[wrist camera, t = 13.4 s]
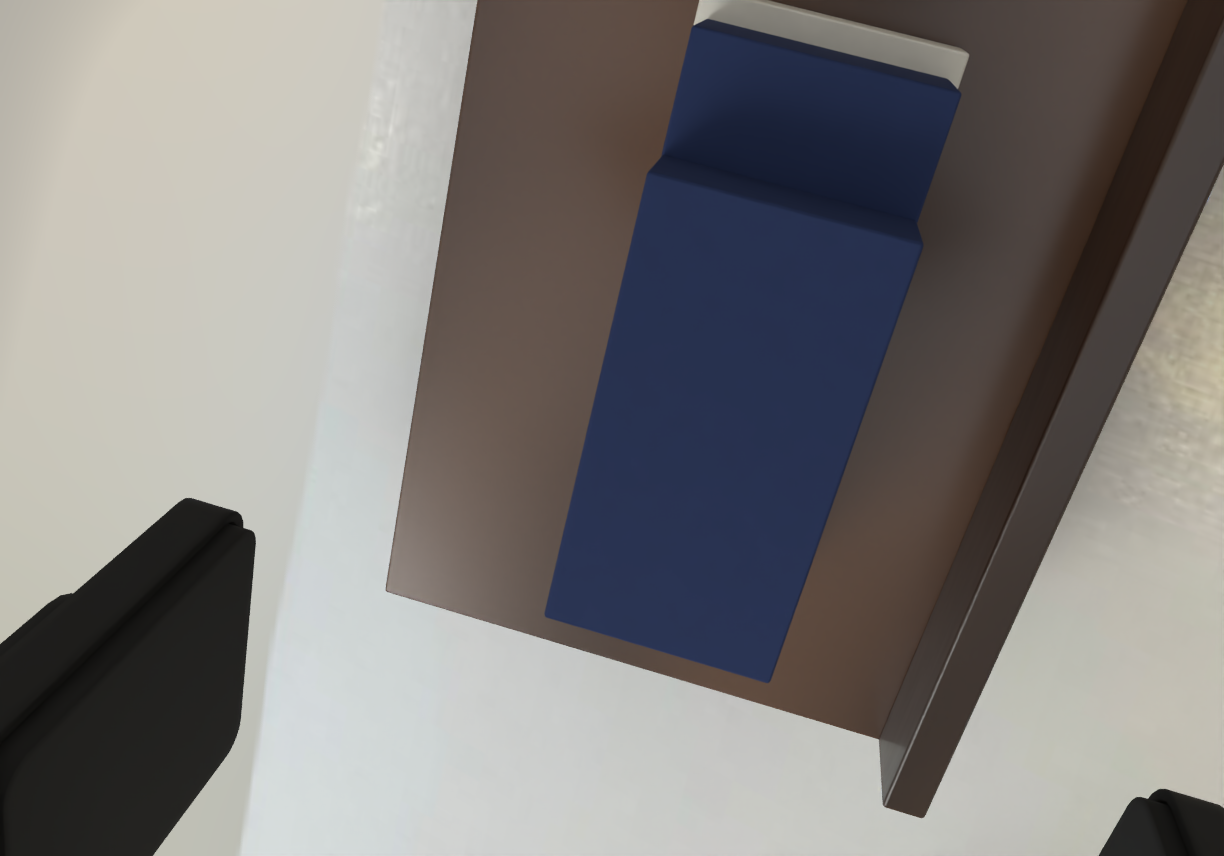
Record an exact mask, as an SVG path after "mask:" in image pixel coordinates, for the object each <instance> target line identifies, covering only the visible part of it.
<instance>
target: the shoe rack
mask: <svg viewBox="0 0 1224 856" xmlns="http://www.w3.org/2000/svg"><path fill="white" fill-rule="evenodd" d="M769 1H773V2H777V3H781V4H785V5H789V6H793V7H797V8H801V9H805V10H809V11H813V12H817V13H821V14H825V15H829V16H833V17H838V18H842V19H846V20H850V21H854V22H858V23H862V24H866V25H870V26H874V27H878V28H882V29H886V30H890V31H894V32H898V33H902V34H906V35H910V36H914V37H918V38H922V39H926V40H930V41H934V42H938V43H942V44H946V45H950V46H954V47H958V48H961V49H963V50H964V51H966V52H967V53H968V54H969V58H968V61H967V64H966V67H965V70H964V73H963V76H962V79H961V82H960V85H959V88H958V90H959V91H960V92H961V98H960V101H959V104H958V107H957V110H956V113H955V116H954V118H953V121H952V124H951V127H950V130H949V133H948V136H947V139H946V142H945V144H944V147H943V150H942V153H941V156H940V159H939V162H938V165H937V168H936V170H935V173H934V176H933V179H932V182H931V185H930V188H929V191H928V194H927V196H926V199H925V202H924V205H923V208H922V211H921V214H920V217H919V220H918V222H917V225H918V228H919V231H920V234H921V238H922V241H923V249H922V252H921V255H920V258H919V261H918V264H917V266H916V269H915V272H914V275H913V278H912V281H911V283H910V286H909V289H908V292H907V295H906V298H905V300H904V303H903V306H902V309H901V312H900V315H899V318H898V320H897V323H896V326H895V329H894V332H893V335H892V337H891V340H890V343H889V346H888V349H887V352H886V354H885V357H884V360H883V363H882V366H881V369H880V372H879V374H878V377H877V380H876V383H875V386H874V389H873V391H872V394H871V397H870V400H869V403H868V406H867V408H866V411H865V414H864V417H863V420H862V423H861V426H860V428H859V431H858V434H857V437H856V440H855V443H854V445H853V448H852V451H851V454H850V457H849V460H848V462H847V465H846V468H845V471H844V474H843V477H842V480H841V482H840V485H839V488H838V491H837V494H836V497H835V499H834V502H833V505H832V508H831V511H830V514H829V516H828V519H827V522H826V525H825V528H824V531H823V533H822V536H821V539H820V542H819V545H818V548H817V551H816V553H815V556H814V559H813V562H812V565H811V568H810V570H809V573H808V576H807V579H806V582H805V585H804V587H803V590H802V593H801V596H800V599H799V602H798V605H797V607H796V610H795V613H794V616H793V619H792V622H791V624H790V627H789V630H788V633H787V636H786V639H785V641H784V644H783V647H782V650H781V653H780V656H779V659H778V661H777V664H776V667H775V670H774V673H773V676H772V678H771V681H770V682H769V683H764V682H761V681H758V680H754V679H751V678H747V677H744V676H741V675H737V674H734V673H731V672H727V671H724V670H721V669H717V668H714V667H711V666H707V665H704V664H700V663H697V662H694V661H690V660H687V659H684V658H680V657H677V656H674V655H670V654H667V653H664V652H660V651H657V650H654V649H650V648H647V647H643V646H640V645H637V644H633V643H630V642H627V641H623V640H620V639H617V638H613V637H610V636H607V635H603V634H600V633H597V632H593V631H590V630H586V629H583V628H580V627H576V626H573V625H570V624H566V623H563V622H560V621H556V620H553V619H550V618H546V617H545V614H544V613H545V609H546V604H547V600H548V596H549V591H550V587H551V583H552V579H553V574H554V570H555V566H556V561H557V557H558V553H559V549H560V544H561V540H562V536H563V531H564V527H565V523H566V519H567V514H568V510H569V506H570V501H571V497H572V493H573V489H574V484H575V480H576V476H577V471H578V467H579V463H580V458H581V454H582V450H583V446H584V441H585V437H586V433H587V428H588V424H589V420H590V416H591V411H592V407H593V403H594V398H595V394H596V390H597V386H598V381H599V377H600V373H601V368H602V364H603V360H604V356H605V351H606V347H607V343H608V338H609V334H610V330H611V326H612V321H613V317H614V313H615V308H616V304H617V300H618V296H619V291H620V287H621V283H622V278H623V274H624V270H625V266H626V261H627V257H628V253H629V248H630V244H631V240H632V235H633V231H634V227H635V223H636V218H637V214H638V210H639V205H640V201H641V197H642V193H643V188H644V184H645V180H646V175H647V173H648V171H649V170H650V169H651V168H652V167H653V166H654V164H655V163H656V162H657V161H658V160H659V159H660V158H661V155H662V150H663V146H664V142H665V138H666V134H667V129H668V125H669V121H670V117H671V112H672V108H673V104H674V100H675V96H676V91H677V87H678V83H679V79H680V75H681V70H682V66H683V62H684V58H685V53H686V49H687V45H688V41H689V37H690V32H691V28H692V26H693V25H694V21H695V17H696V12H697V8H698V4H699V0H477V7H476V13H475V20H474V26H473V32H472V39H471V45H470V52H469V58H468V64H467V71H466V77H465V84H464V90H463V96H462V103H461V109H460V116H459V122H458V129H457V135H456V141H455V148H454V154H453V161H452V167H451V173H450V180H449V186H448V193H447V199H446V205H445V212H444V218H443V225H442V231H441V237H440V244H439V250H438V257H437V263H436V269H435V276H434V282H433V289H432V295H431V301H430V308H429V314H428V321H427V327H426V333H425V340H424V346H423V353H422V359H421V365H420V372H419V378H418V385H417V391H416V397H415V404H414V410H413V417H412V423H411V429H410V436H409V442H408V449H407V455H406V461H405V468H404V474H403V481H402V487H401V493H400V500H399V506H398V513H397V519H396V525H395V532H394V538H393V545H392V551H391V558H390V564H389V570H388V577H387V583H386V591H387V592H390V593H393V594H396V595H400V596H403V597H406V598H410V599H413V600H416V601H420V602H423V603H426V604H430V605H433V606H436V607H440V608H443V609H446V610H450V611H453V612H456V613H460V614H463V615H466V616H470V617H473V618H476V619H480V620H483V621H486V622H490V623H493V624H496V625H500V626H503V627H506V628H510V629H513V630H516V631H520V632H523V633H526V634H530V635H533V636H536V637H540V638H543V639H546V640H550V641H553V642H556V643H560V644H563V645H566V646H570V647H573V648H576V649H580V650H583V651H586V652H590V653H593V654H596V655H600V656H603V657H606V658H610V659H613V660H616V661H620V662H623V663H626V664H630V665H633V666H636V667H640V668H643V669H646V670H650V671H653V672H656V673H660V674H663V675H666V676H670V677H673V678H676V679H680V680H683V681H686V682H690V683H693V684H696V685H700V686H703V687H706V688H710V689H713V690H716V691H720V692H723V693H726V694H730V695H733V696H736V697H740V698H743V699H746V700H750V701H753V702H756V703H760V704H763V705H766V706H770V707H773V708H776V709H780V710H783V711H786V712H790V713H793V714H796V715H800V716H803V717H806V718H810V719H813V720H816V721H820V722H823V723H826V724H830V725H833V726H836V727H840V728H843V729H846V730H850V731H853V732H856V733H860V734H863V735H866V736H870V737H873V738H876V739H879V747H880V764H881V782H882V799H883V806H885V807H886V808H890V809H893V810H896V811H899V812H903V813H906V814H909V815H913V816H916V817H919V818H924V817H925V815H926V813H927V811H928V808H929V806H930V804H931V802H932V800H933V798H934V795H935V793H936V791H937V789H938V787H939V784H940V782H941V780H942V778H943V776H944V774H945V771H946V769H947V767H948V765H949V763H950V760H951V758H952V756H953V754H954V752H955V750H956V747H957V745H958V743H959V741H960V739H961V736H962V734H963V732H964V730H965V728H966V726H967V723H968V721H969V719H970V717H971V715H972V712H973V710H974V708H975V706H976V704H977V702H978V699H979V697H980V695H981V693H982V691H983V688H984V686H985V684H986V682H987V680H988V678H989V675H990V673H991V671H992V669H993V667H994V664H995V662H996V660H997V658H998V656H999V654H1000V651H1001V649H1002V647H1003V645H1004V643H1005V640H1006V638H1007V636H1008V634H1009V632H1010V630H1011V627H1012V625H1013V623H1014V621H1015V619H1016V616H1017V614H1018V612H1019V610H1020V608H1021V606H1022V603H1023V601H1024V599H1025V597H1026V595H1027V592H1028V590H1029V588H1030V586H1031V584H1032V582H1033V579H1034V577H1035V575H1036V573H1037V571H1038V568H1039V566H1040V564H1041V562H1042V560H1043V558H1044V555H1045V553H1046V551H1047V549H1048V547H1049V544H1050V542H1051V540H1052V538H1053V536H1054V534H1055V531H1056V529H1057V527H1058V525H1059V523H1060V520H1061V518H1062V516H1063V514H1064V512H1065V510H1066V507H1067V505H1068V503H1069V501H1070V499H1071V496H1072V494H1073V492H1074V490H1075V488H1076V486H1077V483H1078V481H1079V479H1080V477H1081V475H1082V472H1083V470H1084V468H1085V466H1086V464H1087V462H1088V459H1089V457H1090V455H1091V453H1092V451H1093V448H1094V446H1095V444H1096V442H1097V440H1098V438H1099V435H1100V433H1101V431H1102V429H1103V427H1104V424H1105V422H1106V420H1107V418H1108V416H1109V413H1110V411H1111V409H1112V407H1113V405H1114V403H1115V400H1116V398H1117V396H1118V394H1119V392H1120V389H1121V387H1122V385H1123V383H1124V381H1125V379H1126V376H1127V374H1128V372H1129V370H1130V368H1131V365H1132V363H1133V361H1134V359H1135V357H1136V355H1137V352H1138V350H1139V348H1140V346H1141V344H1142V341H1143V339H1144V337H1145V335H1146V333H1147V331H1148V328H1149V326H1150V324H1151V322H1152V320H1153V317H1154V315H1155V313H1156V311H1157V309H1158V307H1159V304H1160V302H1161V300H1162V298H1163V296H1164V293H1165V291H1166V289H1167V287H1168V285H1169V283H1170V280H1171V278H1172V276H1173V274H1174V272H1175V269H1176V267H1177V265H1178V263H1179V261H1180V259H1181V256H1182V254H1183V252H1184V250H1185V248H1186V245H1187V243H1188V241H1189V239H1190V237H1191V235H1192V232H1193V230H1194V228H1195V226H1196V224H1197V221H1198V219H1199V217H1200V215H1201V213H1202V211H1203V208H1204V206H1205V204H1206V202H1207V200H1208V197H1209V195H1210V193H1211V191H1212V189H1213V187H1214V184H1215V182H1216V180H1217V178H1218V176H1219V173H1220V171H1221V169H1222V167H1223V165H1224V0H769Z"/></svg>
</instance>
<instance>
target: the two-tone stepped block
mask: <svg viewBox="0 0 1224 856" xmlns="http://www.w3.org/2000/svg"><path fill="white" fill-rule="evenodd" d="M968 58H969V54H968V53H967V52H966V51H964V50H963V49H961V48H958V47H954V46H950V45H946V44H942V43H938V42H934V41H930V40H926V39H922V38H918V37H914V36H910V35H906V34H902V33H898V32H894V31H890V30H886V29H882V28H878V27H874V26H870V25H866V24H862V23H858V22H854V21H850V20H846V19H842V18H838V17H833V16H829V15H825V14H821V13H817V12H813V11H809V10H805V9H801V8H797V7H793V6H789V5H785V4H781V3H777V2H773V1H769V0H699V4H698V8H697V12H696V17H695V21H694V25H693V26H692V28H691V32H690V37H689V41H688V45H687V49H686V53H685V58H684V62H683V66H682V70H681V75H680V79H679V83H678V87H677V91H676V96H675V100H674V104H673V108H672V112H671V117H670V121H669V125H668V129H667V134H666V138H665V142H664V146H663V150H662V155H661V158H660V159H659V160H658V161H657V162H656V163H655V164H654V166H653V167H652V168H651V169H650V170H649V171H648V173H647V175H646V180H645V184H644V188H643V193H642V197H641V201H640V205H639V210H638V214H637V218H636V223H635V227H634V231H633V235H632V240H631V244H630V248H629V253H628V257H627V261H626V266H625V270H624V274H623V278H622V283H621V287H620V291H619V296H618V300H617V304H616V308H615V313H614V317H613V321H612V326H611V330H610V334H609V338H608V343H607V347H606V351H605V356H604V360H603V364H602V368H601V373H600V377H599V381H598V386H597V390H596V394H595V398H594V403H593V407H592V411H591V416H590V420H589V424H588V428H587V433H586V437H585V441H584V446H583V450H582V454H581V458H580V463H579V467H578V471H577V476H576V480H575V484H574V489H573V493H572V497H571V501H570V506H569V510H568V514H567V519H566V523H565V527H564V531H563V536H562V540H561V544H560V549H559V553H558V557H557V561H556V566H555V570H554V574H553V579H552V583H551V587H550V591H549V596H548V600H547V604H546V609H545V613H544V614H545V617H546V618H550V619H553V620H556V621H560V622H563V623H566V624H570V625H573V626H576V627H580V628H583V629H586V630H590V631H593V632H597V633H600V634H603V635H607V636H610V637H613V638H617V639H620V640H623V641H627V642H630V643H633V644H637V645H640V646H643V647H647V648H650V649H654V650H657V651H660V652H664V653H667V654H670V655H674V656H677V657H680V658H684V659H687V660H690V661H694V662H697V663H700V664H704V665H707V666H711V667H714V668H717V669H721V670H724V671H727V672H731V673H734V674H737V675H741V676H744V677H747V678H751V679H754V680H758V681H761V682H764V683H769V682H770V681H771V678H772V676H773V673H774V670H775V667H776V664H777V661H778V659H779V656H780V653H781V650H782V647H783V644H784V641H785V639H786V636H787V633H788V630H789V627H790V624H791V622H792V619H793V616H794V613H795V610H796V607H797V605H798V602H799V599H800V596H801V593H802V590H803V587H804V585H805V582H806V579H807V576H808V573H809V570H810V568H811V565H812V562H813V559H814V556H815V553H816V551H817V548H818V545H819V542H820V539H821V536H822V533H823V531H824V528H825V525H826V522H827V519H828V516H829V514H830V511H831V508H832V505H833V502H834V499H835V497H836V494H837V491H838V488H839V485H840V482H841V480H842V477H843V474H844V471H845V468H846V465H847V462H848V460H849V457H850V454H851V451H852V448H853V445H854V443H855V440H856V437H857V434H858V431H859V428H860V426H861V423H862V420H863V417H864V414H865V411H866V408H867V406H868V403H869V400H870V397H871V394H872V391H873V389H874V386H875V383H876V380H877V377H878V374H879V372H880V369H881V366H882V363H883V360H884V357H885V354H886V352H887V349H888V346H889V343H890V340H891V337H892V335H893V332H894V329H895V326H896V323H897V320H898V318H899V315H900V312H901V309H902V306H903V303H904V300H905V298H906V295H907V292H908V289H909V286H910V283H911V281H912V278H913V275H914V272H915V269H916V266H917V264H918V261H919V258H920V255H921V252H922V249H923V241H922V238H921V234H920V231H919V228H918V225H917V222H918V220H919V217H920V214H921V211H922V208H923V205H924V202H925V199H926V196H927V194H928V191H929V188H930V185H931V182H932V179H933V176H934V173H935V170H936V168H937V165H938V162H939V159H940V156H941V153H942V150H943V147H944V144H945V142H946V139H947V136H948V133H949V130H950V127H951V124H952V121H953V118H954V116H955V113H956V110H957V107H958V104H959V101H960V98H961V92H960V91H959V90H958V88H959V85H960V82H961V79H962V76H963V73H964V70H965V67H966V64H967V61H968Z"/></svg>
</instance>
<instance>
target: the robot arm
mask: <svg viewBox="0 0 1224 856" xmlns="http://www.w3.org/2000/svg"><path fill="white" fill-rule="evenodd" d="M255 545H256V540H255V534H254V532H253V531H251V530H248V529H245V528H243V520H242V516H241V515H240V514H239V513H238V512H236V511H233V510H229V509H226V508H222V507H219V506H215V505H212V504H209V503H206V502H202V501H199V500H196V499H192V498H185V499H183V500H182V501H180V502H179V503H178V504H176V505H175V506H174V507H173V508H172V509H170V510H169V511H168V512H167V513H166V514H165V515H164V516H162V517H161V518H160V519H159V520H158V521H157V522H155V523H154V524H153V525H152V526H151V527H150V528H148V529H147V530H146V531H145V532H144V533H143V534H142V535H141V536H139V537H138V538H137V539H136V540H135V541H134V542H132V543H131V544H130V545H129V546H128V547H127V548H125V549H124V550H123V551H122V552H121V553H120V554H119V555H117V556H116V557H115V558H114V559H113V560H112V561H111V562H109V563H108V564H107V565H106V566H105V567H104V568H102V569H101V570H100V571H99V572H98V573H97V574H95V575H94V576H93V577H92V578H91V579H90V580H89V581H87V582H86V583H85V584H84V585H83V586H82V587H80V588H79V589H78V590H77V591H76V592H75V593H73V594H72V593H70V594H66V595H61V596H59V597H58V598H56V599H55V600H53V601H51V602H50V603H48V604H47V605H46V606H45V607H44V608H42V609H41V610H40V611H39V612H38V613H36V614H35V615H34V616H33V617H32V618H31V619H29V620H28V621H27V622H26V623H25V624H23V625H22V626H21V627H20V628H19V629H18V630H16V631H15V632H14V633H13V634H12V635H11V636H9V637H8V638H7V639H6V640H5V641H3V642H2V643H1V644H0V856H153V855H154V853H155V852H156V850H157V849H158V848H159V846H160V845H161V844H162V842H163V841H164V839H165V838H166V837H167V836H168V834H169V833H170V832H171V830H172V829H173V828H174V826H175V825H176V824H177V822H178V821H179V819H180V818H181V817H182V815H183V814H184V813H185V811H186V810H187V809H188V807H189V806H190V805H191V803H192V802H193V801H194V799H195V798H196V797H197V795H198V794H199V793H200V791H201V790H202V789H203V787H204V786H205V785H206V783H207V782H208V780H209V779H210V778H211V776H212V775H213V774H214V772H215V771H216V770H217V768H218V767H219V766H220V764H221V763H222V762H223V760H224V759H225V757H226V756H227V754H228V753H229V751H230V750H231V748H232V745H233V744H234V741H235V738H236V736H237V733H238V730H239V726H240V720H241V710H242V697H243V685H244V674H245V663H246V650H247V639H248V627H249V615H250V604H251V592H252V580H253V568H254V557H255ZM1099 856H1224V808H1223V807H1221V806H1220V805H1217V804H1214V803H1211V802H1207V801H1204V800H1201V799H1197V798H1194V797H1191V796H1187V795H1184V794H1180V793H1177V792H1174V791H1170V790H1167V789H1158V790H1157V791H1155V792H1154V793H1152V794H1151V796H1150V797H1149V798H1148V799H1146V798H1143V797H1136V798H1135V799H1133V800H1132V801H1131V802H1130V804H1129V805H1128V806H1127V808H1126V810H1125V811H1124V813H1123V815H1122V816H1121V818H1120V820H1119V822H1118V823H1117V825H1116V827H1115V828H1114V830H1113V832H1112V834H1111V835H1110V837H1109V839H1108V840H1107V842H1106V844H1105V846H1104V847H1103V849H1102V851H1101V852H1100V854H1099Z"/></svg>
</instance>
